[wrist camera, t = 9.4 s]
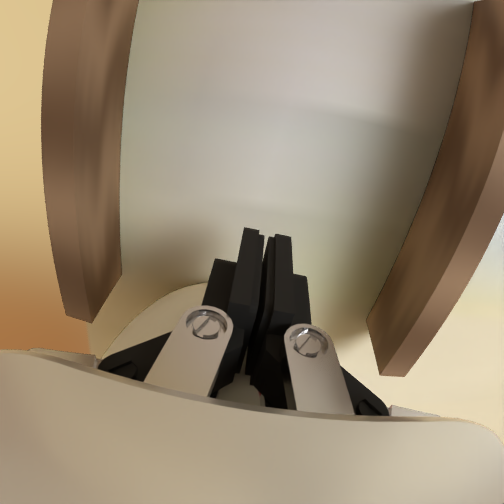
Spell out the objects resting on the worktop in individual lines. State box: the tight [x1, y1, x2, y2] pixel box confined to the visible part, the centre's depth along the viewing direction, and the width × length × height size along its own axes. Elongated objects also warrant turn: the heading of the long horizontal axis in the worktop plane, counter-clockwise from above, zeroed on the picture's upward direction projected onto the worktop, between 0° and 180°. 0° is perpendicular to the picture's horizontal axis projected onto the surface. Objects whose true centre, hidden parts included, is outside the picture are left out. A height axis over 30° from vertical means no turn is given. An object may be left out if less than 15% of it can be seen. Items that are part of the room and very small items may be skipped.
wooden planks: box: [41, 0, 504, 377], centre depth 11 cm, size 18×17×4 cm
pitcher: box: [101, 282, 261, 406], centre depth 13 cm, size 11×18×14 cm, turn 30°
